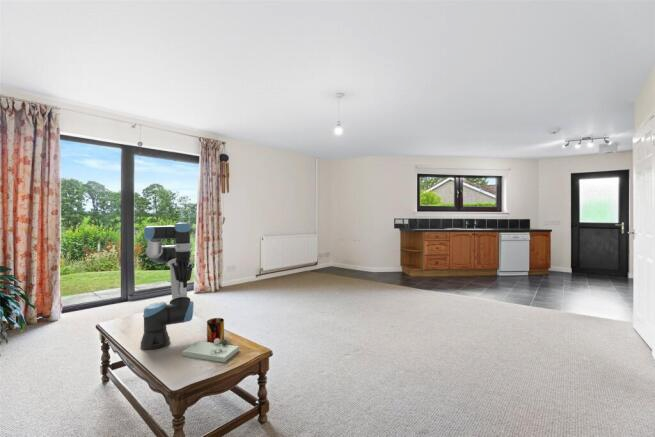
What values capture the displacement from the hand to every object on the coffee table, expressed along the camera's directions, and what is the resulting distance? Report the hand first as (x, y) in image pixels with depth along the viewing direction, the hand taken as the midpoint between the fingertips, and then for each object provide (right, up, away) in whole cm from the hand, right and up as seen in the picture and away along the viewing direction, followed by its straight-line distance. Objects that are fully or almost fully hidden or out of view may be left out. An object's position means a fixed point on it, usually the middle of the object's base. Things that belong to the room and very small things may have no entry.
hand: (183, 293), depth 180 cm
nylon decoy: (+17, -28, +5) cm, 33 cm away
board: (+16, -33, -1) cm, 36 cm away
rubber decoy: (+22, -28, +3) cm, 36 cm away
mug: (+14, -32, +15) cm, 38 cm away
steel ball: (+21, -31, -5) cm, 38 cm away
